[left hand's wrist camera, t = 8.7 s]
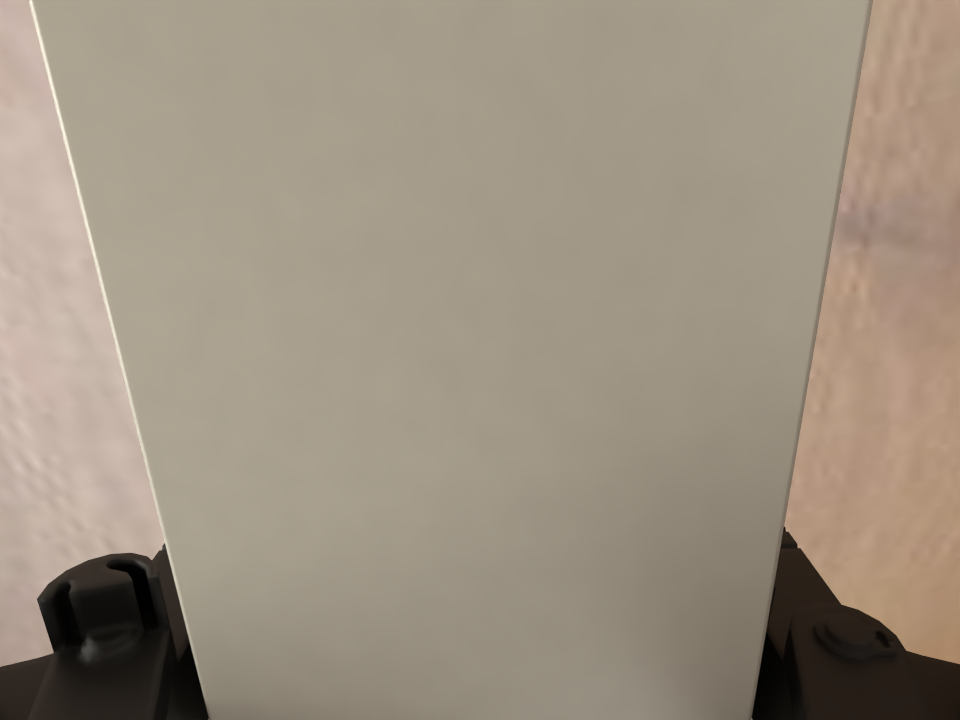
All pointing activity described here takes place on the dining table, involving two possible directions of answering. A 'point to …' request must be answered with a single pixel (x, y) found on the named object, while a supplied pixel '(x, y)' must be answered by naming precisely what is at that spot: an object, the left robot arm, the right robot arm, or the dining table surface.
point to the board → (464, 333)
